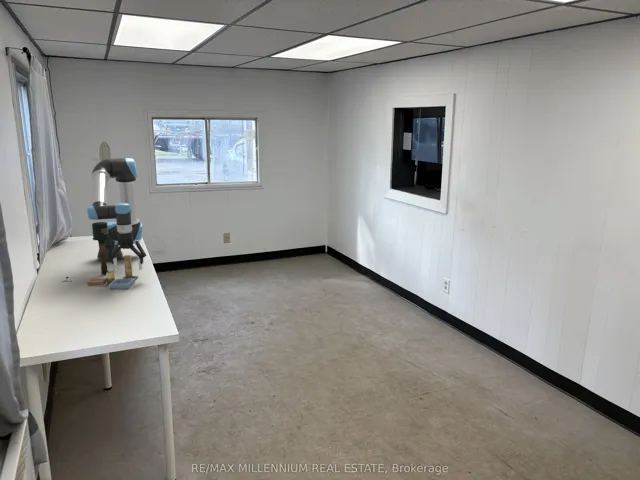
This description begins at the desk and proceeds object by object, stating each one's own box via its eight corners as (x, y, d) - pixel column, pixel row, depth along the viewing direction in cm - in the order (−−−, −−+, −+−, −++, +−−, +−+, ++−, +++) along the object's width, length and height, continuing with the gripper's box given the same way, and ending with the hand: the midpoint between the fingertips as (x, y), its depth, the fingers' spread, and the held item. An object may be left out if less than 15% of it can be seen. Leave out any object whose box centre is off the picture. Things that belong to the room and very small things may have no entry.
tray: (116, 282, 260) (116, 278, 259) (135, 282, 260) (134, 278, 259) (109, 289, 250) (108, 284, 249) (128, 289, 250) (128, 284, 250)
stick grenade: (106, 276, 270) (101, 225, 263) (93, 275, 272) (87, 224, 265) (116, 272, 278) (111, 222, 271) (102, 271, 280) (97, 221, 273)
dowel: (127, 279, 266) (125, 254, 263) (133, 279, 267) (131, 254, 263) (124, 281, 263) (122, 256, 260) (131, 281, 263) (129, 256, 260)
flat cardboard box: (94, 281, 263) (93, 277, 263) (108, 281, 264) (108, 277, 263) (88, 286, 255) (87, 282, 255) (103, 286, 256) (102, 281, 255)
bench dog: (109, 281, 262) (107, 271, 260) (116, 281, 262) (115, 271, 260) (106, 284, 258) (104, 273, 256) (113, 284, 258) (112, 273, 256)
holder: (125, 278, 268) (125, 276, 268) (138, 278, 268) (137, 276, 268) (120, 282, 261) (120, 280, 261) (133, 282, 261) (133, 280, 261)
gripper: (98, 233, 254) (102, 271, 259) (145, 233, 255) (148, 271, 260) (104, 230, 262) (108, 267, 266) (150, 230, 262) (153, 267, 267)
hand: (128, 269), depth 263 cm, fingers open, 13 cm apart
